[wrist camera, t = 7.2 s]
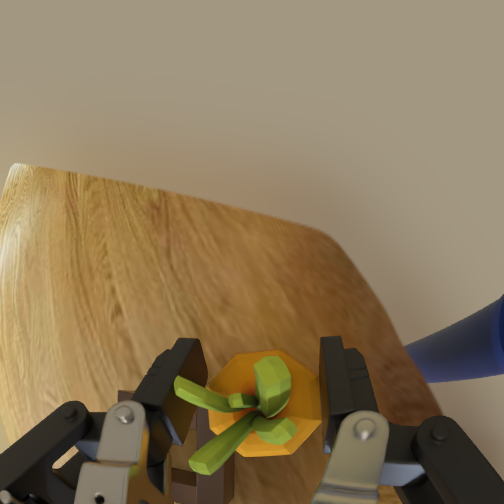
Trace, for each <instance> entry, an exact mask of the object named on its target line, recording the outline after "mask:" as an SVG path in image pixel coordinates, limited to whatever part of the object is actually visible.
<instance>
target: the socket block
mask: <svg viewBox="0 0 504 504" xmlns="http://www.w3.org/2000/svg"><path fill="white" fill-rule="evenodd" d="M134 393H135V391H123V390H118V402H121V401H126V400H130V399H131V398H132V396H133V394H134ZM189 429H195V430H196V429H197V451H198V450H199V449H200V448H201V447H203V446H204V445H205V444H206V443H207V442H209V441H210V440H212V439H213V438H214V437H216V436H217V434H215V433H214V432H213V431H212V430H211V429H210V424H209V412H208V409H206V408H203V407H200V406H197V409H196V412H195V414H194V417H193V420H192V422H191V425H190V427H189ZM171 483H172V499H173V502H176V503H181V504H229V503H230V502H231V500H232V499H233V497H234V452H233V453H232V455H231V456H230V457H229V458H228V459H227V460H226V461H225V462H224V463H223V464H222V466H221V467H220V468H219V469H217V470H216V471H215V472H214V473H212V474H211V475H204V474H200V473H194V472H189V471H183V470H179V469H174V468H171Z"/></svg>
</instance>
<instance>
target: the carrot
mask: <svg viewBox="0 0 504 504" xmlns="http://www.w3.org/2000/svg"><path fill="white" fill-rule="evenodd" d="M174 390H175V394H176V395H177V396H179V397H180V398H182V399H184V400H186V401H188V402H190V403H192V404H195V405H197V406H200V407H203V408H206V409H208V412H209V424H210V429H211V430H212V431H213V432H214V433H215V434H217V436H216V437H214V438H213V439H212V440H210V441H209V442H207V443H206V444H205V445H204V446H203V447H201V448H200V449H199V450H198V451H196V452H195V453H194V454H193V456H192V457H191V458H190V459H189V460H188V461H189V465H190V467H191V468H192V469H193V471H195V472H197V473H200V474H204V475H211V474H212V473H214V472H215V471H216V470H217V469H219V468H220V467H221V466H222V464H223V463H224V462H225V461H226V460H227V459H228V458H229V457H230V456H231V455H232V453H233V452H234V451H235V450H236V451H237V452H238V453H240V454H241V455H242V456H244V457H257V456H275V455H287V454H293V453H294V452H295V451H296V449H297V448H298V447H299V446H300V445H301V444H302V443H303V442H304V441H305V440H306V439H307V438H308V437H309V436H310V435H311V433H312V432H313V431H314V430H315V429H316V428H317V427H318V425H319V424H320V423H321V422H322V416H321V399H320V385H319V375H317V374H316V373H314V372H313V371H312V370H310V369H309V368H308V367H306V366H305V365H303V364H302V363H301V362H299V361H298V360H297V359H295V358H294V357H293V356H291V355H290V354H289V353H287V352H286V351H285V350H283V349H276V350H268V351H258V352H248V353H237V354H235V356H234V357H233V358H232V359H231V360H230V361H229V362H228V363H227V365H226V366H225V367H224V368H223V369H222V370H221V371H220V372H219V374H218V375H217V376H216V377H215V378H214V379H213V380H212V381H211V382H210V384H209V385H208V386H207V389H206V388H203V387H201V386H199V385H197V384H195V383H193V382H191V381H189V380H187V379H185V378H183V377H180V376H177V377H176V378H175V381H174Z"/></svg>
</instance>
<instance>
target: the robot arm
mask: <svg viewBox="0 0 504 504" xmlns="http://www.w3.org/2000/svg"><path fill="white" fill-rule="evenodd" d="M177 376H180V377H183V378H185V379H187V380H189V381H191V382H193V383H195V384H197V385H199V386H201V387H203V388H205V385H206V383H207V377H208V371H207V366H206V362H205V358H204V354H203V351H202V347H201V343H200V340H199V339H197V338H178V340H177V341H176V343H175V344H174V346H173V348H172V349H171V350H169V349H167V350H165V351H164V352H163V353H161V354H160V355H159V356H158V357H157V358H156V360H155V361H154V363H153V364H152V367H150V369H149V370H148V372H147V375H145V377H144V378H143V380H142V382H141V383H140V385H139V386H138V388H137V390H136V391H135V393H134V394H133V396H132V398H131V399H130V400H126V401H121V402H118V403H116V404H114V405H113V406H112V407H111V408H110V409H109V410H108V412H89V411H88V410H87V408H86V407H85V405H84V404H83V403H81V402H79V401H69V402H66V403H64V404H62V405H61V406H60V407H59V408H57V409H56V410H55V411H54V412H52V413H51V414H50V415H49V416H47V417H46V418H45V419H44V420H42V421H41V422H40V423H39V424H37V425H36V426H35V427H34V428H33V429H31V430H30V431H29V432H28V433H26V434H25V435H24V436H23V437H21V438H20V439H19V440H18V441H16V442H15V443H14V444H13V445H12V446H10V447H9V448H8V449H7V450H5V451H4V452H3V453H2V454H0V504H174V503H173V499H172V483H171V454H170V452H169V449H170V447H171V445H172V444H176V445H181V446H183V443H184V441H185V438H186V435H187V433H188V430H189V427H190V425H191V422H192V420H193V417H194V414H195V412H196V409H197V405H195V404H192V403H190V402H188V401H186V400H184V399H182V398H180V397H179V396H177V395H176V394H175V390H174V381H175V378H176V377H177ZM319 385H320V399H321V416H322V436H323V454H326V453H331V455H330V458H329V460H328V463H327V466H326V469H325V471H324V474H323V476H322V479H321V481H320V483H319V485H318V487H317V488H316V490H315V492H314V495H313V497H312V499H311V501H310V503H309V504H378V502H379V493H378V486H379V485H387V486H393V487H394V489H395V491H396V493H397V494H398V496H399V498H400V500H401V502H402V504H504V481H503V480H502V479H501V477H500V476H499V474H497V472H496V471H495V469H494V468H493V467H492V466H491V464H490V463H489V462H488V460H487V459H486V458H485V457H484V456H483V454H482V453H481V452H480V451H479V449H478V448H477V447H476V446H475V444H474V443H473V442H472V441H471V439H470V438H469V437H468V436H467V435H466V433H465V432H464V431H463V430H462V429H461V427H460V426H459V425H458V424H457V423H456V422H455V421H454V420H453V419H451V418H449V417H446V416H433V417H430V418H428V419H426V420H425V421H424V422H423V423H422V424H421V425H420V426H419V427H415V426H401V425H395V424H392V423H390V422H388V421H387V420H386V419H385V418H384V417H383V416H382V415H381V414H380V413H379V410H378V407H377V403H376V399H375V396H374V392H373V388H372V384H371V381H370V378H369V374H368V370H367V368H366V363H365V360H364V356H363V355H362V354H361V353H360V352H359V351H358V350H357V349H356V348H350V349H344V347H343V343H342V339H341V336H330V337H321V338H320V361H319ZM73 446H75V447H76V448H77V449H78V450H79V451H78V452H77V453H76V454H75V455H74V456H73V457H72V458H71V459H70V460H69V461H68V462H66V463H65V464H64V465H63V466H62V467H61V468H59V469H54V468H52V465H53V464H54V463H55V462H56V461H57V460H58V459H59V458H60V457H61V456H62V455H64V454H65V453H66V452H67V451H68V450H69V449H70V448H71V447H73Z"/></svg>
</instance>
